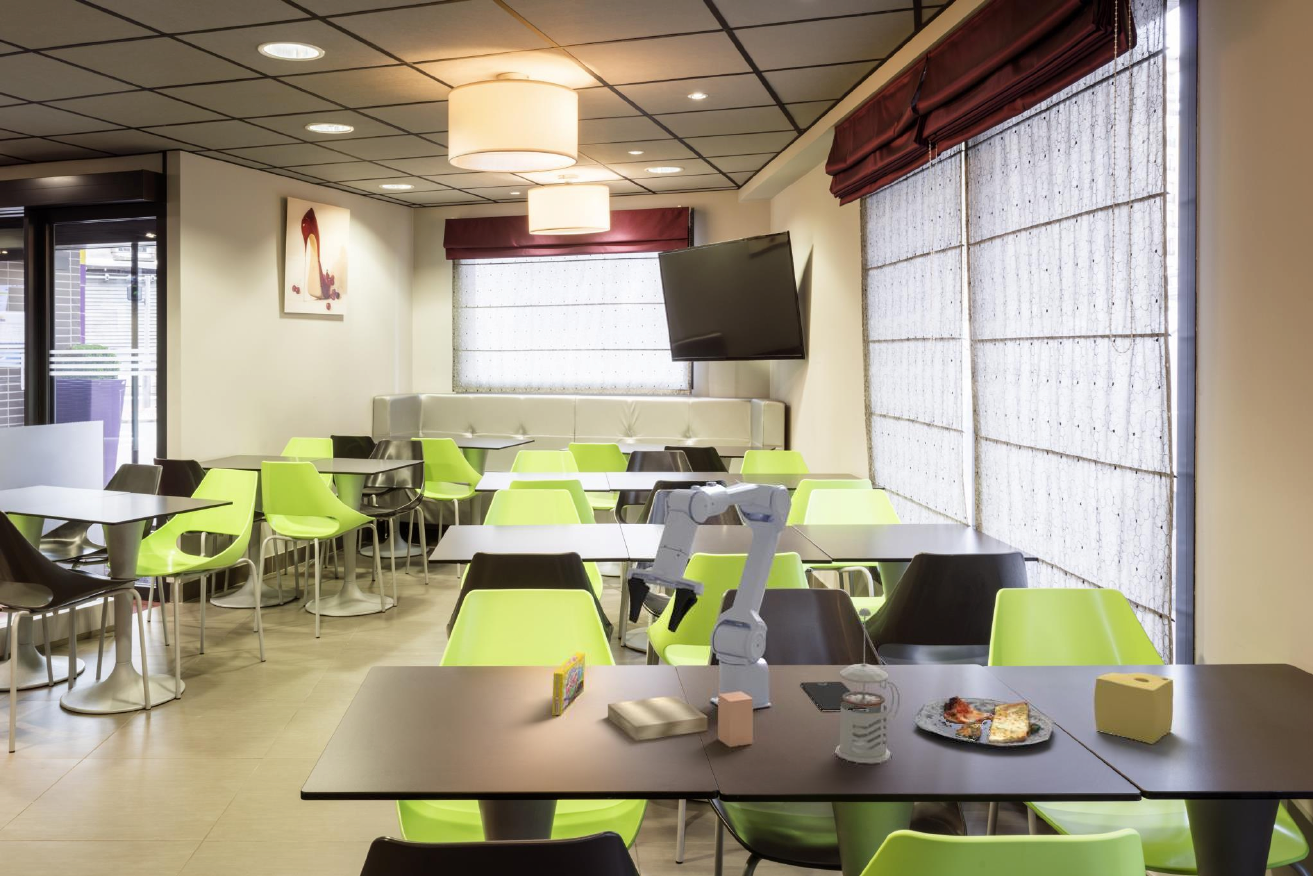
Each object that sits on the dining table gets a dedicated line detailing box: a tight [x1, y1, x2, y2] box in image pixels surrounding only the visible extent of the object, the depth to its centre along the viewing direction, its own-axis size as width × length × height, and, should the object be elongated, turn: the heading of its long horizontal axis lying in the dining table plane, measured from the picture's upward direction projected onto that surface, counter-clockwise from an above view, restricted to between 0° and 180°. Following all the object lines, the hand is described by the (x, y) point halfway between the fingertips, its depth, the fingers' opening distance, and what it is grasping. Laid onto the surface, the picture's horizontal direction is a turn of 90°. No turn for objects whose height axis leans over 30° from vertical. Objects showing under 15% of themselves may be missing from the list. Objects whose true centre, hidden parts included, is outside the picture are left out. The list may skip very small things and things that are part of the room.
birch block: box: [607, 694, 708, 742], centre depth 188 cm, size 14×14×3 cm
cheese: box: [1093, 672, 1174, 745], centre depth 184 cm, size 10×11×10 cm
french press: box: [835, 607, 901, 762], centre depth 172 cm, size 10×12×25 cm
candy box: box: [551, 651, 586, 716], centre depth 200 cm, size 16×2×8 cm, turn 168°
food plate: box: [913, 695, 1055, 748], centre depth 186 cm, size 25×23×4 cm
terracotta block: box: [717, 691, 754, 748], centre depth 179 cm, size 4×4×8 cm
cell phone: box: [800, 681, 867, 711], centre depth 204 cm, size 9×18×1 cm, turn 6°
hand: (651, 626), depth 177 cm, fingers open, 7 cm apart
